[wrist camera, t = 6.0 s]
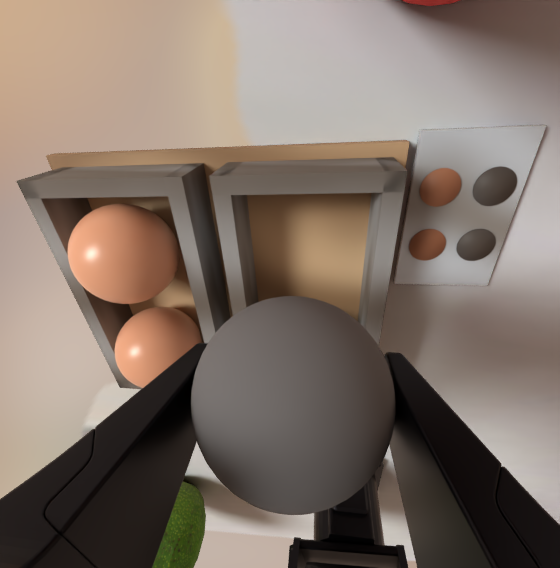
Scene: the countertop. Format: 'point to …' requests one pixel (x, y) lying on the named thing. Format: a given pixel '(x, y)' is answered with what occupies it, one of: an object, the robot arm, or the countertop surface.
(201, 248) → the grey sorting tray
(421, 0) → the canned food
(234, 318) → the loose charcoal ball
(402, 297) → the countertop surface
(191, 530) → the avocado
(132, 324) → the terracotta ball
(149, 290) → the terracotta ball
